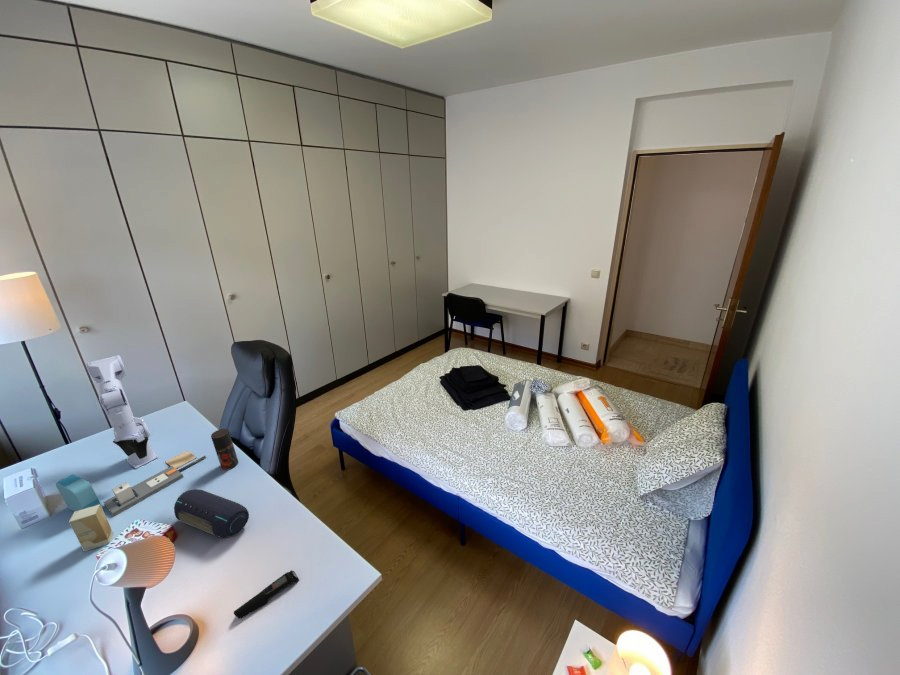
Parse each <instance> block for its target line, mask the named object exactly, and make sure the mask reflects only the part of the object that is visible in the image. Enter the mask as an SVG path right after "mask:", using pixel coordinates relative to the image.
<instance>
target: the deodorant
mask: <svg viewBox="0 0 900 675" xmlns="http://www.w3.org/2000/svg"><path fill="white" fill-rule="evenodd" d="M210 437H211V440H212V444H213V447H214V451H215V453H216V456H217V459H218V462H219V464H220V467H221V470H222V471H228V470H232V469H234V468H235V467H236V466H238V465H239V459H238V455H237V453H236V449H235V447H234V444H233V440H232V439H233V438H232V436H231V434H230V430H229V429H228V428H221V429H217V430H215V431H214V432H212V433H211V435H210Z"/></svg>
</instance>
